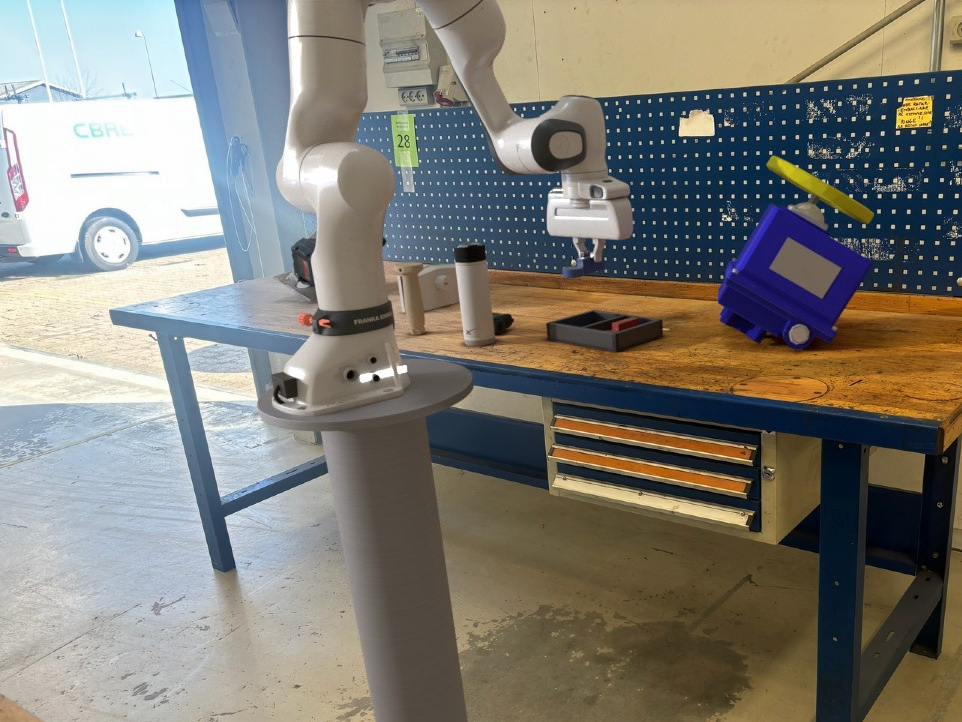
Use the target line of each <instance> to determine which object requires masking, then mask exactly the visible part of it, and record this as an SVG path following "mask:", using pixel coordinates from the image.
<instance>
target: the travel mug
mask: <svg viewBox="0 0 962 722" xmlns="http://www.w3.org/2000/svg"><path fill="white" fill-rule="evenodd" d="M486 251H487V250H486V244H482V245H478V246H477V244H475V245H468V247H460V248H457V247H454V248H453V253H454V257H455V258H454V264H456V274H457V283H458V291H459V299H460V302H459V307H460V316H461V325H462V331H463V332H462V334H463V340H464V344H465V345H466V346H469V347H483V346H488V345H492V344H494V343H495V342H496V333H494V323H493V314H492V313H493V305H492V296H491V286H490V277H489V267H488V263H487V262H488V259H487V255H486V254H487V252H486Z"/></svg>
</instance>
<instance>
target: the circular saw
mask: <svg viewBox="0 0 962 722" xmlns="http://www.w3.org/2000/svg"><path fill="white" fill-rule="evenodd" d="M316 239H317V228H315V229H314V230H313V231H311V232H309V234H308V235H307V236H306V237H302V238H301V239H299V240H297V241H296V242H295V243H294V245H291V247H290V251H291V258H292V261H293V262H292V266H293V267H290V271H287V272H284V273H281V274H276V275H273V276H272V278H273V279H274V280H276V281H278V282H279V283H281V284H283V285H285V287H287V288H288V289H290V290H292V291H293V292H295V293H296V294H298V295H299V296H301V297H303V299H306V300H307V301H309V302H310V303H313V302H318V299H317V294H316V288H315V283H314V277H313V271H312V266H311V257H312V254H313V252H314V250H315V246H316ZM386 243H387V239H386V238H385V237H384V236H383V246H382V248H383V247H384V246H386ZM299 282H300V283H301V284H302V285H305V286H306V287H298V283H299Z"/></svg>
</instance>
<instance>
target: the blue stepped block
mask: <svg viewBox="0 0 962 722" xmlns="http://www.w3.org/2000/svg"><path fill="white" fill-rule="evenodd" d="M561 270H562V271H561V272H562V278H564V279H578V278H582V277H584V276H585V275H588V274H592V273H596V272H597V273H598V272H601V271H605V270H606V263H605V254H603V253H602V261H600V262H592V261H591V257H590V256H586V257H582V258H579V257H578V258H576V266H575V265H572V266H571V265H570V266H565V267H563V268H562V269H561Z"/></svg>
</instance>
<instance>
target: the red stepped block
mask: <svg viewBox="0 0 962 722" xmlns="http://www.w3.org/2000/svg"><path fill="white" fill-rule="evenodd" d="M638 325H639V318H635V317H631V318H627V319H624V320H621V321H617V322H614V323H612V330H607V331H608V332H614V333H615V332H619V331H622V330H625V329H628V328H631V327H635V326H638Z"/></svg>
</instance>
